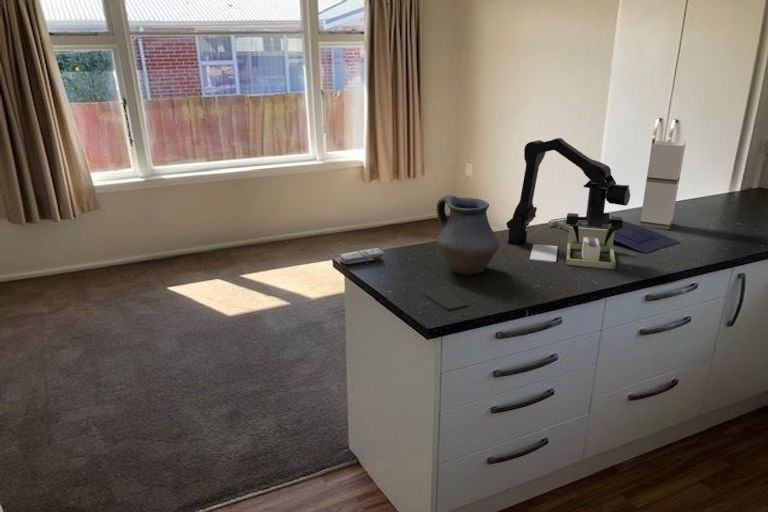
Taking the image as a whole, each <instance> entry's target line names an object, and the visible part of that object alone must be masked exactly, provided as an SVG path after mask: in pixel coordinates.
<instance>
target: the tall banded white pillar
mask: <svg viewBox="0 0 768 512" xmlns="http://www.w3.org/2000/svg"><path fill="white" fill-rule="evenodd" d="M685 149H686V142H680V141H667V140H666V141H665V140H655V143H654V142H653V143H651V148H650V153H649V159H648V161H649V162H648V167H647V176H646V181H645V187H644V195H643V199H642V206H641V207H642V209H641V215H640V219H639V222H640V223H639V226H641V227H645V228H646V227H647V228H652V229H653V228H655V229H661V230H668V229H669V230H670V228H671V227H672V225H673V221H674V220H673V218H674V212H675V207H676V201H677V195H678V189H679V184H680V179H681V173H682V167H683V161H684V157H685V156H684V155H685ZM671 224H672V225H671ZM670 226H671V227H670Z"/></svg>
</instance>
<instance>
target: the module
mask: <svg viewBox="0 0 768 512" xmlns="http://www.w3.org/2000/svg"><path fill="white" fill-rule="evenodd" d="M600 255H601V251H600V245H599V241H598V238H594V237H588V238H586V237H583V245H582V250H581V257H582V260H590V261H600Z"/></svg>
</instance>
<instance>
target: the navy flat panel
mask: <svg viewBox="0 0 768 512" xmlns="http://www.w3.org/2000/svg"><path fill="white" fill-rule="evenodd" d="M610 218H611V217H609V219H610ZM584 224H585V225H582V226H584V227H587V228H594V229H606V230H607V229H608V225H609V224H602V227H595V226H592V227H589V226H588V225H587V223H584ZM614 241H615V242H618V243H619V244H622V245H625V246H627V247H629V248H631V249H634V250H636V251H639V252H642V253H644V254H648V253H650V252H653V251H656V250H659V249H661V248H664V247H668V246H672V245H676V244H679V243H680V241H679V240H676V239H674V238H672V237H669V236H667V235H665V234H662V233H659V232H658V231H657V232H656V231H655V230H651V229H649V228H646V227H645V226H640V225H638V224H636V223H632V222H628V221H625V220H623V228H618V230H615V234H614Z"/></svg>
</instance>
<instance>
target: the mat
mask: <svg viewBox="0 0 768 512" xmlns="http://www.w3.org/2000/svg"><path fill="white" fill-rule="evenodd" d="M558 247H559V246H557V245H549V244H548V245H547V244H537V243H533V244H532V249H531V252H530V257H529V260H530V261H534V262H535V261H536V262H546V263H556V262H557V256H558Z"/></svg>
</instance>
